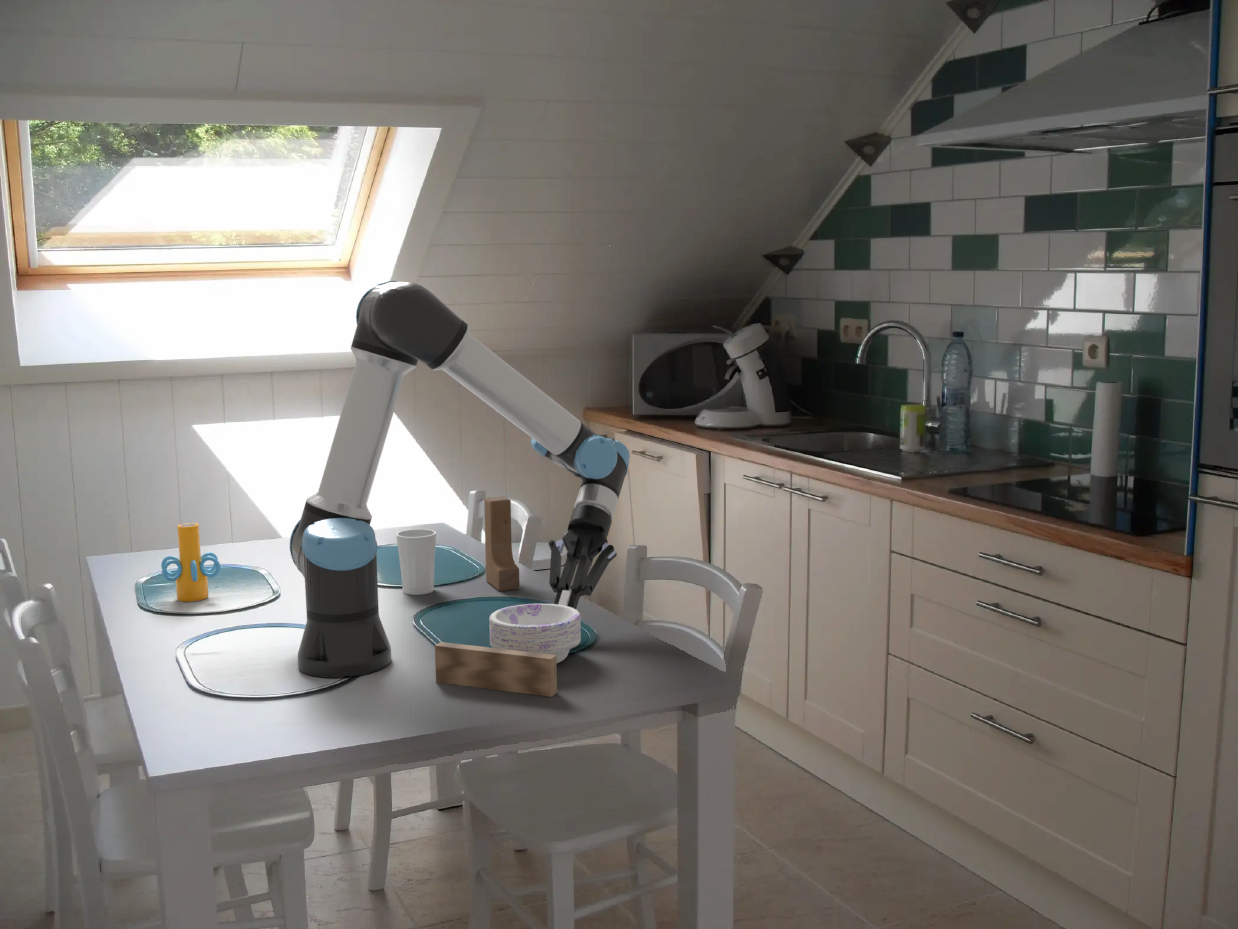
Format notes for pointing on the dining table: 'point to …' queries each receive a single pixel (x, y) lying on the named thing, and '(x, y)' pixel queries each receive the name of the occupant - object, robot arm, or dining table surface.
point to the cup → (417, 560)
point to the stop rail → (496, 669)
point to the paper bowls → (536, 629)
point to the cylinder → (190, 565)
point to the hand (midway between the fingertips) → (558, 626)
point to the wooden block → (499, 545)
